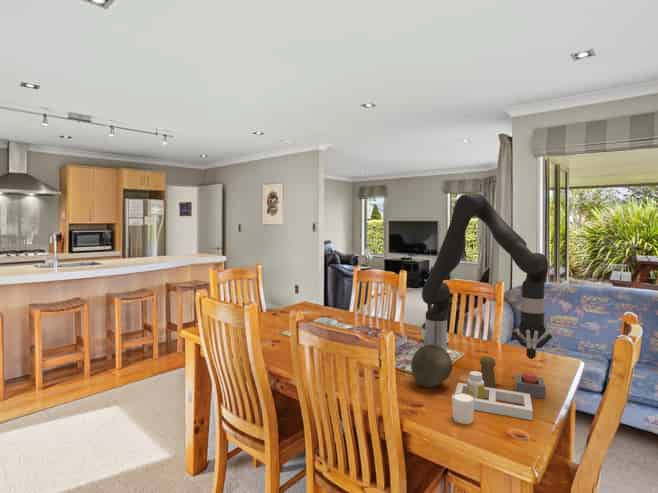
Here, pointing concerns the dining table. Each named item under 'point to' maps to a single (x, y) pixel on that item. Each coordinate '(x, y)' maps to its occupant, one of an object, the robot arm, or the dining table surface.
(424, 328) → the spread jar
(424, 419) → the dining table surface
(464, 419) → the white cylinder
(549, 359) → the dining table surface
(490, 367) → the olive gourd
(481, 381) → the supplement bottle
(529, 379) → the button
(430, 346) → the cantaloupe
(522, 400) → the window frame
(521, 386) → the button housing
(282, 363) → the dining table surface
